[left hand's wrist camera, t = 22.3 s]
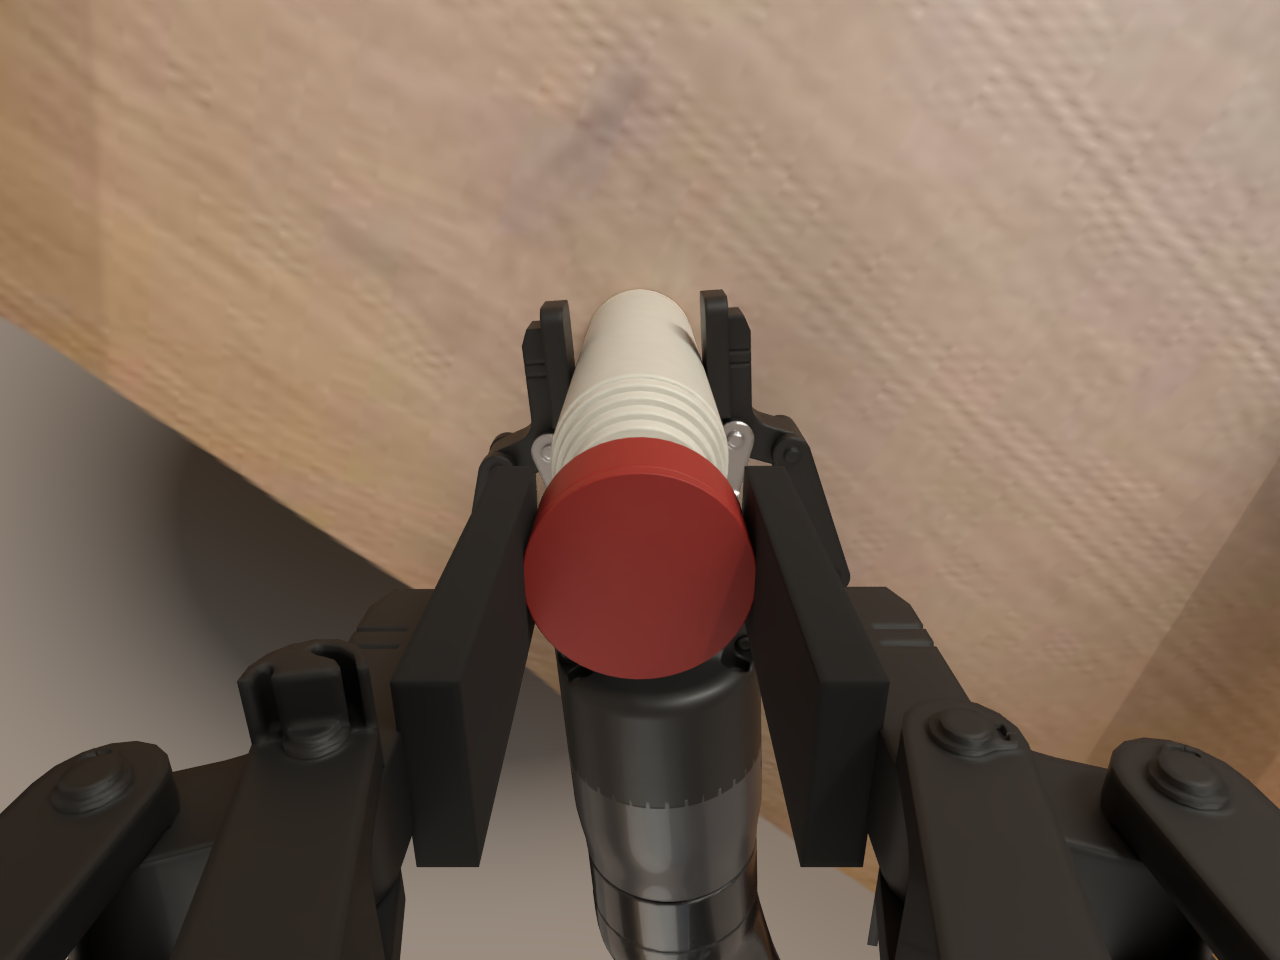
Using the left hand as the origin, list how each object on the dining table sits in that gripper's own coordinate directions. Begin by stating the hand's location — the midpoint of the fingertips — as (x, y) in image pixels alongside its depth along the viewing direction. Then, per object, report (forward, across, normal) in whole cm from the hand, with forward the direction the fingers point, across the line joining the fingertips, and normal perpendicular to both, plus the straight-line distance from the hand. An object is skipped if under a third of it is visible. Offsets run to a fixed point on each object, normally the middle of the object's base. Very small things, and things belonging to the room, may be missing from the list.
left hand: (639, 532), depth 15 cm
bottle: (+18, 0, 0) cm, 18 cm away
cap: (-2, 0, 0) cm, 2 cm away
